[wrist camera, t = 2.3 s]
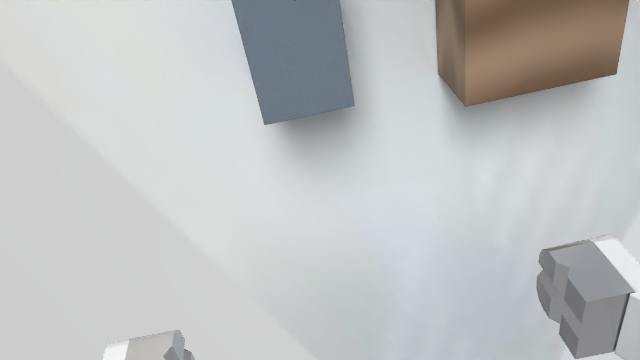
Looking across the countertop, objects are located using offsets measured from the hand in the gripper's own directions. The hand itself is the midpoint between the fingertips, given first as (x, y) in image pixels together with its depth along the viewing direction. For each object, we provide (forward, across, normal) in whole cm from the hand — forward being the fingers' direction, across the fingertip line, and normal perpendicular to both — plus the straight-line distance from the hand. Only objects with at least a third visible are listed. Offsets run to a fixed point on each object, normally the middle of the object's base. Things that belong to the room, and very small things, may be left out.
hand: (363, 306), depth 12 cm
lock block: (+23, 0, 0) cm, 23 cm away
